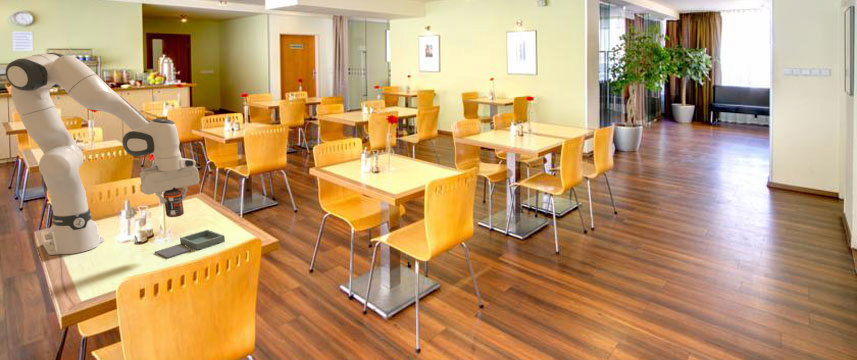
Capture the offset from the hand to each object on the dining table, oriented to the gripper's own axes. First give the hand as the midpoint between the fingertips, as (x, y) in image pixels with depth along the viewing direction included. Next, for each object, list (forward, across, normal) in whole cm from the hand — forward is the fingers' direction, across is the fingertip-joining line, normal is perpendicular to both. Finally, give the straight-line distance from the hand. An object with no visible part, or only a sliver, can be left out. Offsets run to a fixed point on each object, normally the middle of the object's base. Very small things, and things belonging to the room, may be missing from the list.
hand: (173, 200), depth 194 cm
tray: (+19, +10, 0) cm, 22 cm away
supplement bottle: (+6, 0, 0) cm, 6 cm away
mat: (+19, -2, 0) cm, 20 cm away
